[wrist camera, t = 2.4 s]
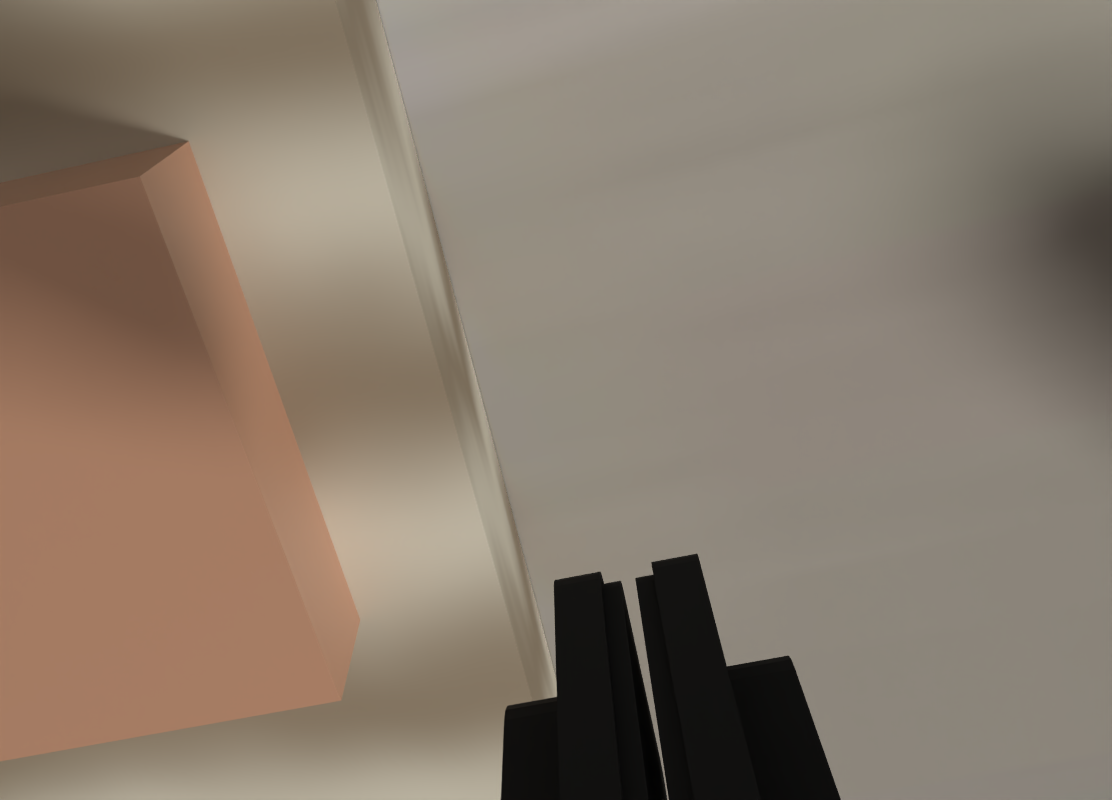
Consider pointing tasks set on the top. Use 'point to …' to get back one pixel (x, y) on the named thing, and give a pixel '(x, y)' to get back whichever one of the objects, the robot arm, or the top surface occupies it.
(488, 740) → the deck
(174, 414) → the tile
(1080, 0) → the top surface
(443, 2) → the top surface
